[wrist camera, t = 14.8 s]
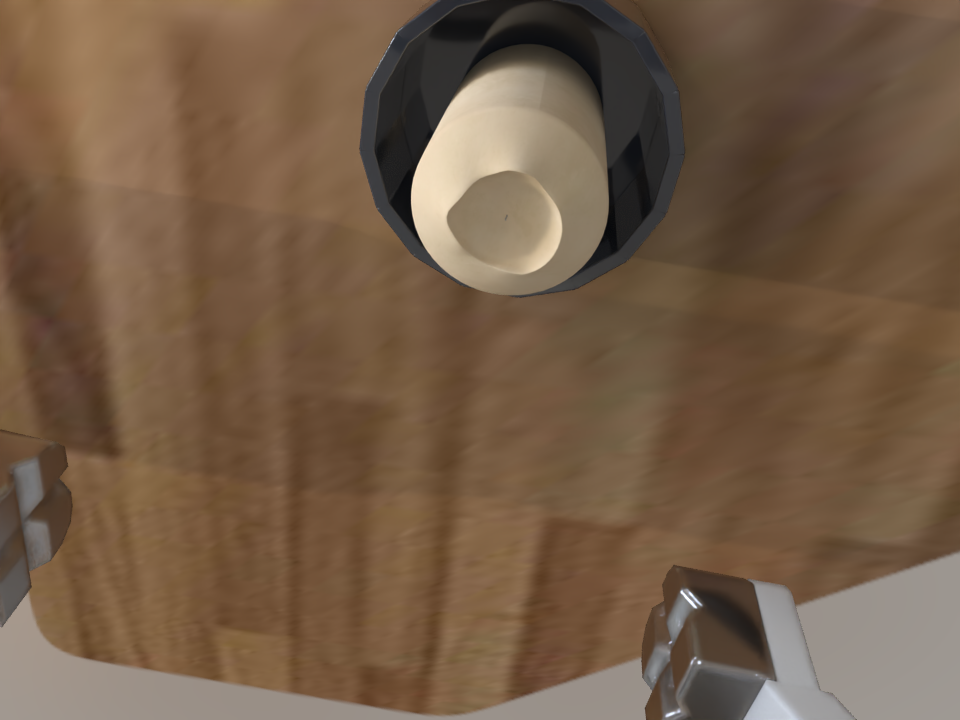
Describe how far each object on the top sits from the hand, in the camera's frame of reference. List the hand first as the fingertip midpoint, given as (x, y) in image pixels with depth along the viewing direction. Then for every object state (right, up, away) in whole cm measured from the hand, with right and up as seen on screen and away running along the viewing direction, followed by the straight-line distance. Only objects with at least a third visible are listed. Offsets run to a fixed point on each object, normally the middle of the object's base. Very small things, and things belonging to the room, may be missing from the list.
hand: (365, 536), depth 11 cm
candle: (+3, +11, +19) cm, 23 cm away
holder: (+3, +12, +20) cm, 23 cm away
